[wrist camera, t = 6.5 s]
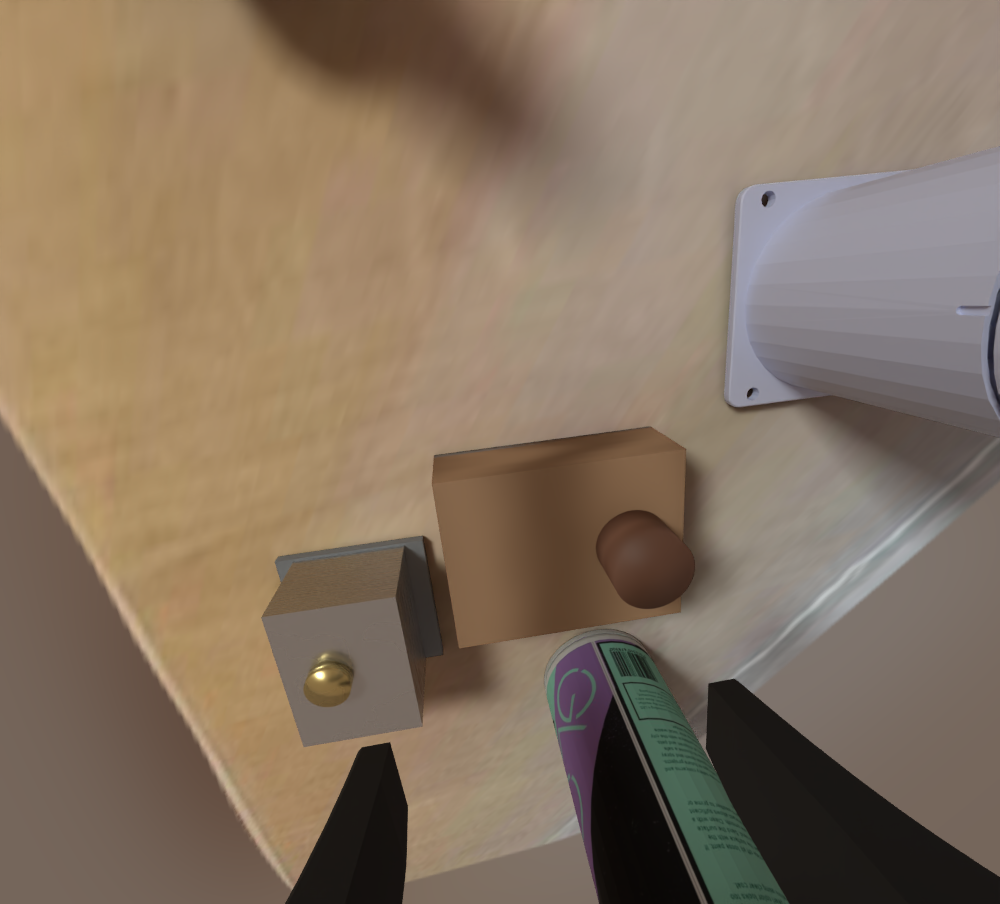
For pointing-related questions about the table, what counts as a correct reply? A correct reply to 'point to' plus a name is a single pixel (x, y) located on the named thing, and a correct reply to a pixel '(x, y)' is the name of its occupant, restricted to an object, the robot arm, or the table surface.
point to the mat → (417, 576)
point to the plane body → (562, 533)
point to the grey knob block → (349, 645)
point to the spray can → (646, 784)
